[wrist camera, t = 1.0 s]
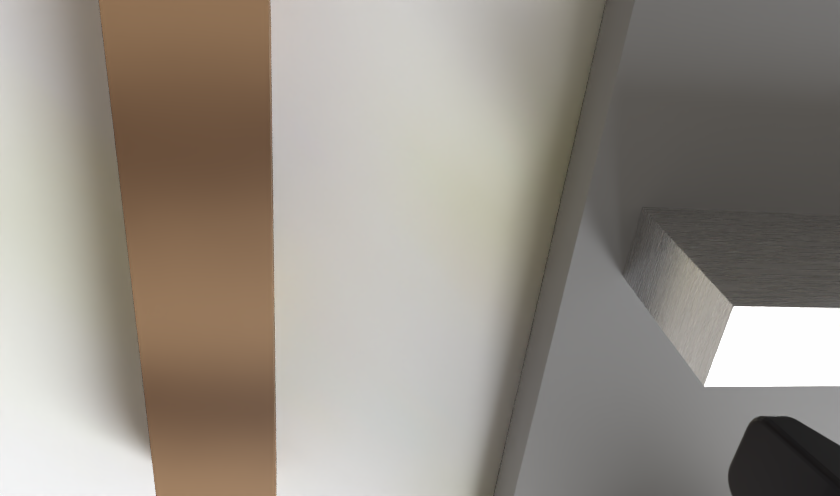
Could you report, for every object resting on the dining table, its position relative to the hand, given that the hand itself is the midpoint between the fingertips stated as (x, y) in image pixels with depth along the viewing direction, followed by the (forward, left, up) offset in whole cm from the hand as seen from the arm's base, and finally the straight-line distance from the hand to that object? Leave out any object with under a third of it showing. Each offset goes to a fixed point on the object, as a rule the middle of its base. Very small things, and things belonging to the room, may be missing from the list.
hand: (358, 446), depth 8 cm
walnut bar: (-1, +2, -12) cm, 12 cm away
